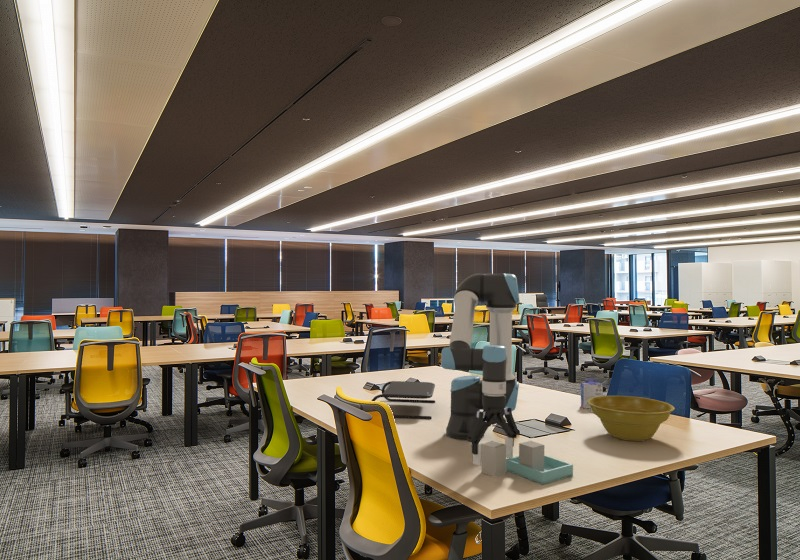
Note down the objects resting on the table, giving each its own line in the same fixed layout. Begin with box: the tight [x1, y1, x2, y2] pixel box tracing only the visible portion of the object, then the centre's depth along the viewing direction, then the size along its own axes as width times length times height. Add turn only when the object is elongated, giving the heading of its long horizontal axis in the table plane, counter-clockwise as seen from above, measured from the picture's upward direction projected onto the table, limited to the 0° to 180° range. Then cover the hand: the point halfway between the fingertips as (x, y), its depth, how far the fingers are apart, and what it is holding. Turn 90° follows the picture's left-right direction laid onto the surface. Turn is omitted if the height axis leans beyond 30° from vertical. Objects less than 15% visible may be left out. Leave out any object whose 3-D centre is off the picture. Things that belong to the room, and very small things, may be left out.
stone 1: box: [480, 440, 507, 478], centre depth 170 cm, size 6×6×9 cm
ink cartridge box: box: [580, 377, 604, 409], centre depth 269 cm, size 10×6×14 cm, turn 89°
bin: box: [506, 454, 574, 485], centre depth 170 cm, size 15×14×4 cm
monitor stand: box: [371, 380, 436, 420], centre depth 259 cm, size 37×28×11 cm
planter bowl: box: [587, 395, 676, 442], centre depth 215 cm, size 32×32×13 cm
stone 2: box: [518, 440, 545, 472], centre depth 168 cm, size 6×6×9 cm
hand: (493, 461), depth 169 cm, fingers open, 13 cm apart
